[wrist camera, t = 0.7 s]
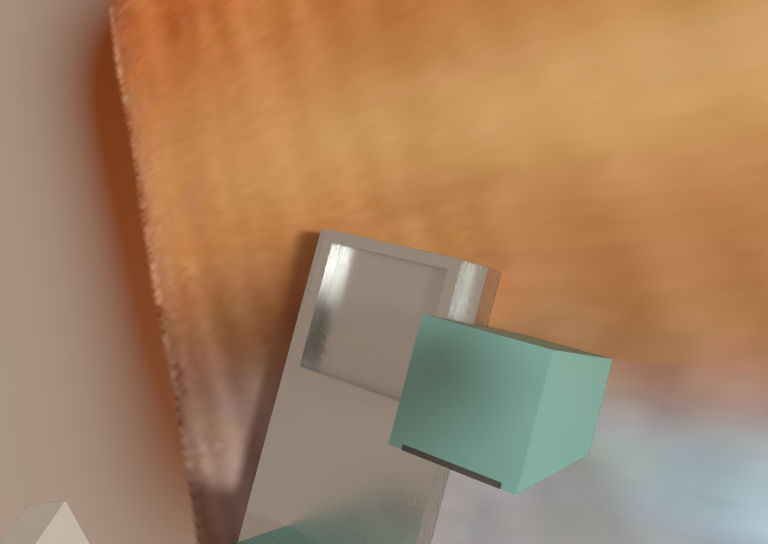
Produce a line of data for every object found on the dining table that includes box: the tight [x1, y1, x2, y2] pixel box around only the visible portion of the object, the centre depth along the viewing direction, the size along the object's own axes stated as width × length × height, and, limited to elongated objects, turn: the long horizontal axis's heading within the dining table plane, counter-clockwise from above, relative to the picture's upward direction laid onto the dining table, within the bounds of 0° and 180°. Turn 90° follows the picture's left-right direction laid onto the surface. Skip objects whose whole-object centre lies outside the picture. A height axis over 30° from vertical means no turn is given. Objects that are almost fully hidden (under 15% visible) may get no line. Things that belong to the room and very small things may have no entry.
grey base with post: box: [234, 229, 501, 544], centre depth 30 cm, size 20×10×14 cm, turn 164°
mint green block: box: [388, 314, 613, 494], centre depth 26 cm, size 4×4×12 cm
